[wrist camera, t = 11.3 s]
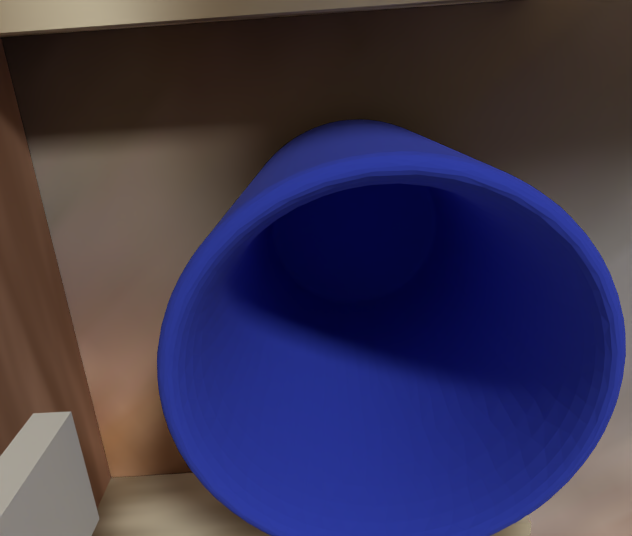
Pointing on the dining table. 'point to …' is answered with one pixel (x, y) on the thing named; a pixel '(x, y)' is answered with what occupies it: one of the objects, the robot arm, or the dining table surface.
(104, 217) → the dining table surface
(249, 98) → the dining table surface
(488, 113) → the dining table surface
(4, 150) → the channel
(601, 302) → the mug
